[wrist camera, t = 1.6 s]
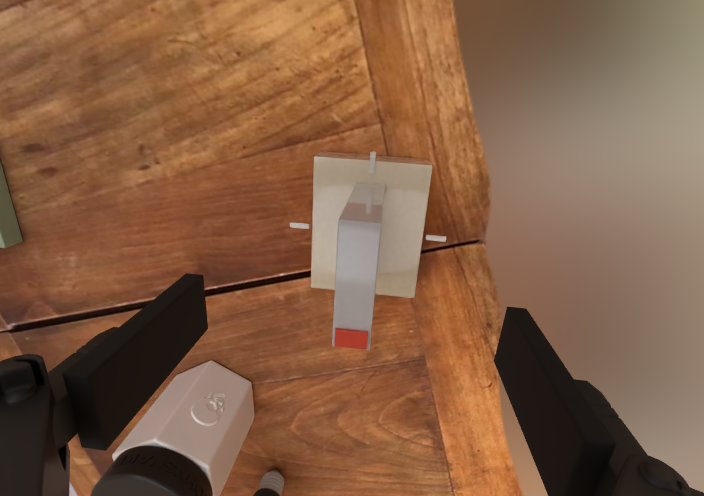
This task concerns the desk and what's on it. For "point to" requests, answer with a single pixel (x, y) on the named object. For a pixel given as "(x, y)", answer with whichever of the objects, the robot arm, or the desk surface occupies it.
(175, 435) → the jar
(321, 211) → the panel
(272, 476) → the light bulb
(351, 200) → the tap handle
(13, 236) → the button block
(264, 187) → the desk surface
